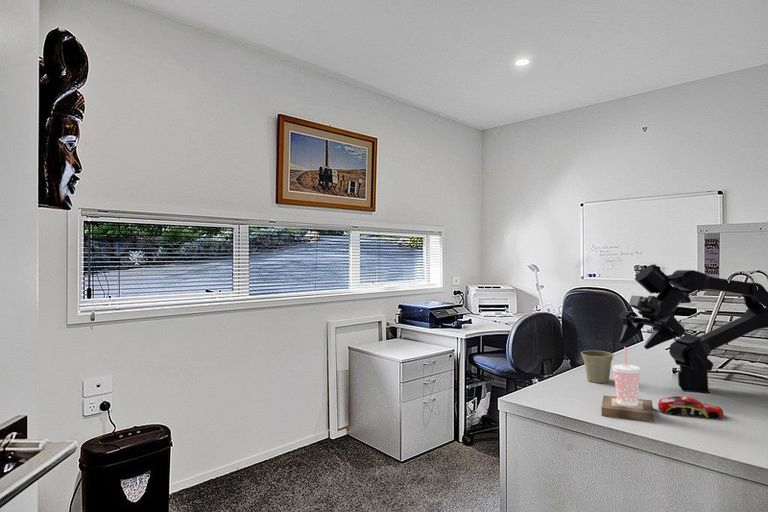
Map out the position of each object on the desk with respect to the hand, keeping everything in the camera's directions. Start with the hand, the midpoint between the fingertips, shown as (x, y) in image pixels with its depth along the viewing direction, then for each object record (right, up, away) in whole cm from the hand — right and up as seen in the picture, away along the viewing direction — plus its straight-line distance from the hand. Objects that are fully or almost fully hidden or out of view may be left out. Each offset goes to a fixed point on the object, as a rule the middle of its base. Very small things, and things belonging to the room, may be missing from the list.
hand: (632, 345), depth 126 cm
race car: (+4, -14, -18) cm, 23 cm away
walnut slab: (-10, -14, -15) cm, 23 cm away
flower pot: (-3, -14, +14) cm, 20 cm away
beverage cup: (-10, -12, -15) cm, 22 cm away
